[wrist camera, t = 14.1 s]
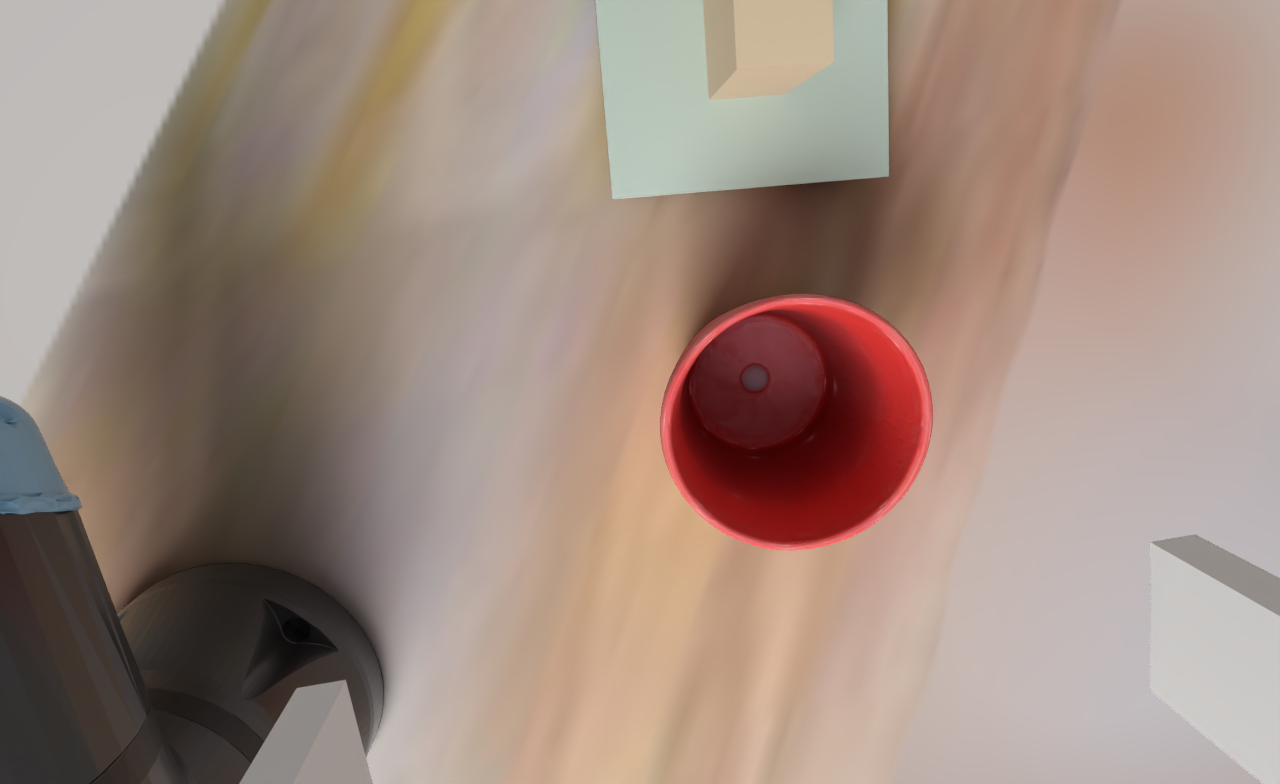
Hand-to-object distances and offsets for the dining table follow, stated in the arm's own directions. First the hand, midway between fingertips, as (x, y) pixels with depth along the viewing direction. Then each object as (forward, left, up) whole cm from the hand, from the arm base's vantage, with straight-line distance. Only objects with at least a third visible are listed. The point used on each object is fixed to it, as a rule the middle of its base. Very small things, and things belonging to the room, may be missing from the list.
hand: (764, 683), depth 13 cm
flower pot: (+5, -1, -29) cm, 29 cm away
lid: (+5, +15, -28) cm, 32 cm away
